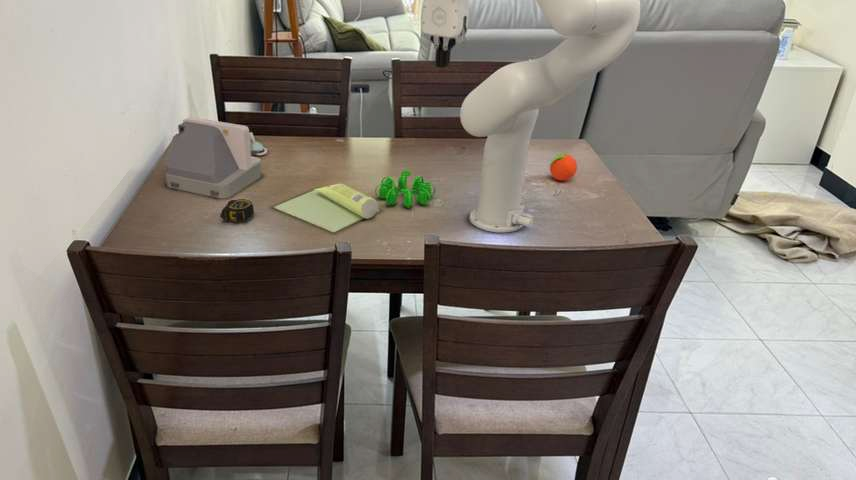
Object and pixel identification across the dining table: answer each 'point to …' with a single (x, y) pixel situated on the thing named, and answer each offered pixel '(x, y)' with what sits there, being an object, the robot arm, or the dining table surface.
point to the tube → (351, 199)
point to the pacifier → (256, 146)
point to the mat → (320, 211)
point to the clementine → (563, 167)
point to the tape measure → (237, 210)
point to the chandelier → (405, 190)
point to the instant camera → (211, 158)
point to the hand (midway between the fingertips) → (442, 66)
